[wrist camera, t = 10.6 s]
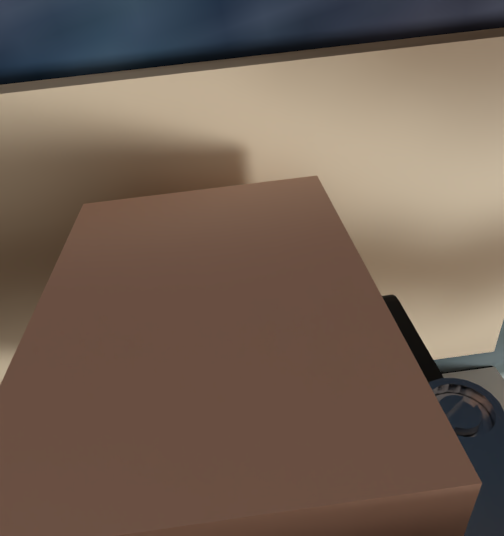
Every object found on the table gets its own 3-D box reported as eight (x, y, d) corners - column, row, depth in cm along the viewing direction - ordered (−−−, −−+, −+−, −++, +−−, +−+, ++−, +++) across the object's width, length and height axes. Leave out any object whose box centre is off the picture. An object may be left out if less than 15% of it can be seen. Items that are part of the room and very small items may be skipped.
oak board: (479, 331, 17) (494, 351, 16) (-25, 399, 16) (-36, 423, 15) (560, 20, 11) (589, 26, 10) (-214, 108, 10) (-249, 122, 10)
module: (318, 369, 13) (410, 686, 8) (145, 393, 13) (103, 735, 7) (316, 175, 10) (482, 482, 4) (83, 203, 10) (-83, 563, 4)
